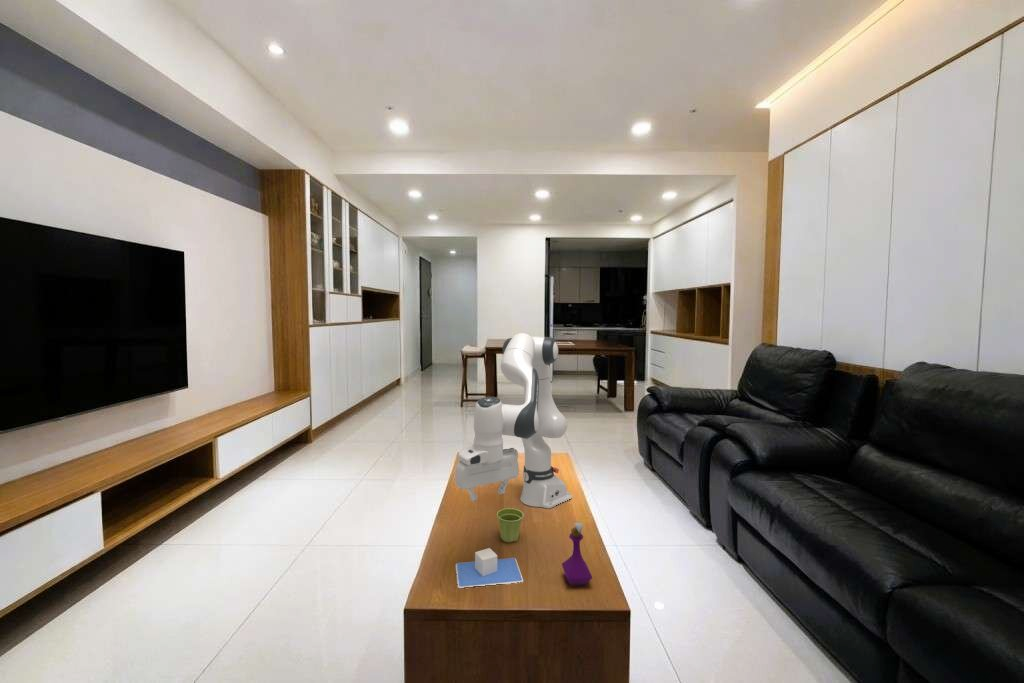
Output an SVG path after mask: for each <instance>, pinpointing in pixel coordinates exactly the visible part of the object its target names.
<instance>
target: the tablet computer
mask: <svg viewBox="0 0 1024 683" xmlns="http://www.w3.org/2000/svg"><path fill="white" fill-rule="evenodd" d="M455 573H456V574H457V575H456V585H457V584H458V585H457V589H458V588H464V587H473V586H485V585H496V584H506V585H512V584H511V583H515V584H521V583H520V582H522V583H524V578H523V576H522V573H521V570H520V566H519V564H518V562H517V559H516V558H514V557H510V558H500V559H498V558H497V572H494V573H492V574H489V575H486V576H483V577H482V575H481V574H480V573H479V572H478V571H477V570H476V568H475V561H465V562H464V561H463V562H457V563H456V564H455ZM517 582H519V583H517ZM496 586H497V585H496Z"/></svg>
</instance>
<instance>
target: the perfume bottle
mask: <svg viewBox="0 0 1024 683" xmlns="http://www.w3.org/2000/svg"><path fill="white" fill-rule="evenodd" d="M573 525H574V527H572V528H571V530H570V531H571V533H570V534H569V536H568V537H569V538H570V540H571V541H572V544H573V550H572V554H571V556H569V557H568V559H566V560H565V561H563V562H562V563H561V566H562V569H563V572H564V575H565V578H566V580H567V581H568V584H569V585H570V586H571V585H576V586H586V584H588V583H589V582H590V581H591V580H592V579H593V576H592V573H591V572H590V569H589V566H588V564H587V562H586V561H585V560H584V558H583V556H582V553H581V545H580V544H581V541H582V540H583V539H584V535H583V534H582V529H583V526H584V524H583V522H573Z"/></svg>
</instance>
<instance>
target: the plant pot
mask: <svg viewBox="0 0 1024 683" xmlns="http://www.w3.org/2000/svg"><path fill="white" fill-rule="evenodd" d="M496 517H497V518H498V525H499V533H500V538H501V540H502V541H503V542H506V543H513V542H517V541H518V540H519V536H520V529H521V522H522V521H523V518H524V513H523V511H522V510H520V509H517V508H512V507H511V508H510V507H508V508H502V509H499V510H498V511H497V512H496Z"/></svg>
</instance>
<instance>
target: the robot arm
mask: <svg viewBox="0 0 1024 683" xmlns="http://www.w3.org/2000/svg"><path fill="white" fill-rule="evenodd" d="M558 355H559V347H558V343H557V340H555V339H554V338H553V337H549V336H535V335H533V336H531V335H530V334H528V333H524V332H519V333H515V335H513V336H512V337H509V338H507V339H506V340H505V341H504V342H503V345H502V357H501V361H500V370H501V373H502V375H503V376H504V377H505V379H506V380H508V381H510V382H511V383H513V384H516V385H517V386H520V387H522V388H523V389H524V390H523V391H524V403H523V404H520V405H519V404H518V405H517V404H505V403H502V400H501V398H499V397H495V396H486V397H481V398H479V399H477V401H476V403H475V408H474V414H473V415H474V416H473V431H474V439H473V444H472V445H471V446H468V447H467V448H465V449H463V450H461V451H459V453H458V454H457V458H458V460H459V461H458V462H457V463H456V466H455V476H454V483H455V485H456V487H458V489H460V490H461V491H462V490H467V491H468V494H470V496H469V499H470V501H471V502H475V501H478V493H475V492H474V491H475V487H480V486H485V485H489V484H493V483H499V482H501V484H500V486H499V487H497V493H498V494H499V495H504V494H506V487H507V486H508V484H509V480H512V479H517V478H518V477H519V474H520V467H519V461H518V458H519V453H518V450H517V449H515V448H514V447H509V448H504V440H503V439H504V438H503V436H510V437H516V438H520V439H521V442H522V444H523V448H524V466H523V486H522V490H521V495H520V498H519V499H520V502H521V503H522V504H524V505H527V506H529V507H536V508H544V509H552V508H554V507H556V505H557V506H558V504H559V505H561V504H563V503H562V502H564V503H565V501H566V502H568V501H570V500H569V499H571V498H572V499H573V495H572V494H571V493H570V492H569V491H568V488H567V485H566V482H564V481H563V479H561V478H560V477H558V476H557V475H556V474H558V473H559V470H560V469H559V468H558V467H554V466H552V449H551V447H550V445H548V443H546V441H545V440H544V438H547V439H560V438H562V437H563V436H564V435H565V434H566V431H567V428H568V421H567V418H566V417H565V415H563V413H562V412H561V411H559V409H558V407H557V405H556V403H555V400H554V398H553V394H552V383H551V381H552V380H551V379H552V378H551V367H550V365H551V364H553V363H554V362H556V361H557V359H558ZM572 499H571V500H572ZM567 500H568V501H567ZM560 503H561V504H560Z"/></svg>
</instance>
